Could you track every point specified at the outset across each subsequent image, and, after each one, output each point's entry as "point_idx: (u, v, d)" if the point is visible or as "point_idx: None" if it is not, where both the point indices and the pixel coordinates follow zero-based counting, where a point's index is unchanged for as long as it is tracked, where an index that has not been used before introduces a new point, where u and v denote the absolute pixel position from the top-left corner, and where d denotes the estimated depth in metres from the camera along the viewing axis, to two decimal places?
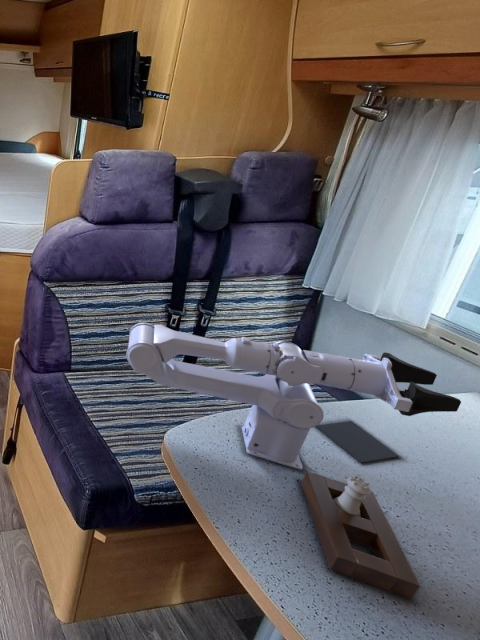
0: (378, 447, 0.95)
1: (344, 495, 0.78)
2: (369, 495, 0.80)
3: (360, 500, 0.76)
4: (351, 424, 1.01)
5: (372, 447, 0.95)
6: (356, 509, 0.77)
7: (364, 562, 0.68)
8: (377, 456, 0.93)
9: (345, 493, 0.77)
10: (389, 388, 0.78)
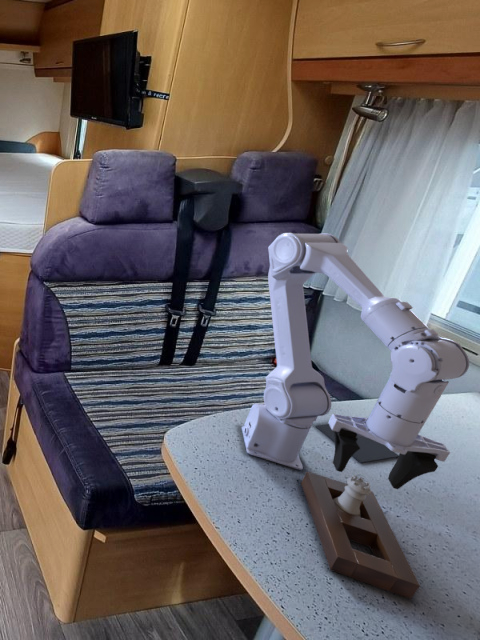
0: (378, 447, 0.95)
1: (344, 495, 0.78)
2: (369, 495, 0.80)
3: (360, 500, 0.76)
4: None
5: (372, 447, 0.95)
6: (356, 509, 0.77)
7: (364, 562, 0.68)
8: (377, 456, 0.93)
9: (345, 493, 0.77)
10: (364, 428, 0.73)
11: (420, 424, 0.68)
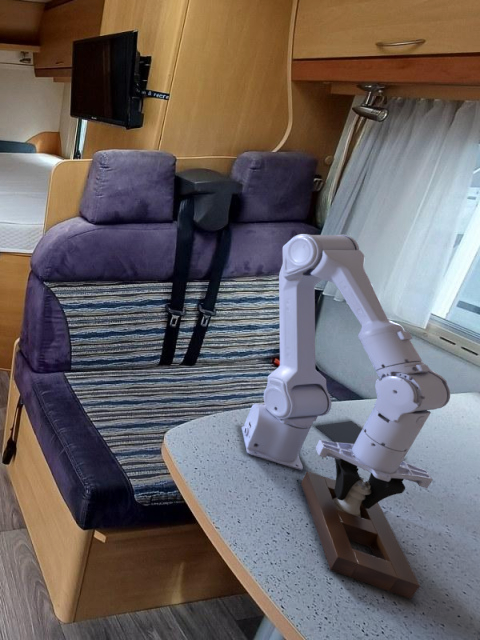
0: None
1: None
2: None
3: (360, 500, 0.76)
4: (351, 424, 1.01)
5: None
6: (356, 509, 0.77)
7: (364, 562, 0.68)
8: None
9: None
10: (350, 455, 0.75)
11: (403, 452, 0.70)
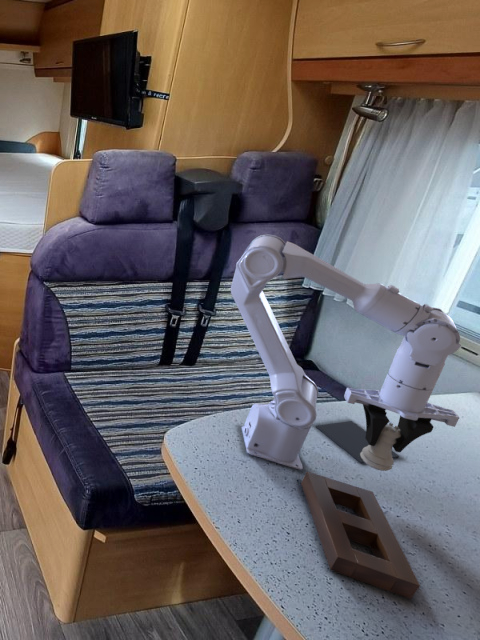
0: None
1: None
2: (369, 495, 0.80)
3: (391, 444, 0.79)
4: (351, 424, 1.01)
5: None
6: (388, 453, 0.80)
7: (364, 562, 0.68)
8: None
9: None
10: (377, 400, 0.79)
11: (428, 391, 0.74)
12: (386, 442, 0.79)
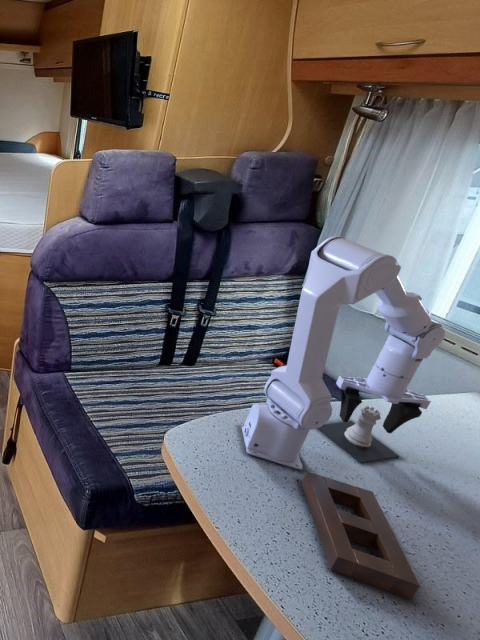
0: (378, 447, 0.95)
1: (359, 422, 0.95)
2: (369, 495, 0.80)
3: (372, 425, 0.93)
4: (351, 424, 1.01)
5: (372, 447, 0.95)
6: (368, 433, 0.94)
7: (364, 562, 0.68)
8: (377, 456, 0.93)
9: (359, 421, 0.95)
10: (364, 386, 0.92)
11: (408, 380, 0.87)
12: (368, 423, 0.93)
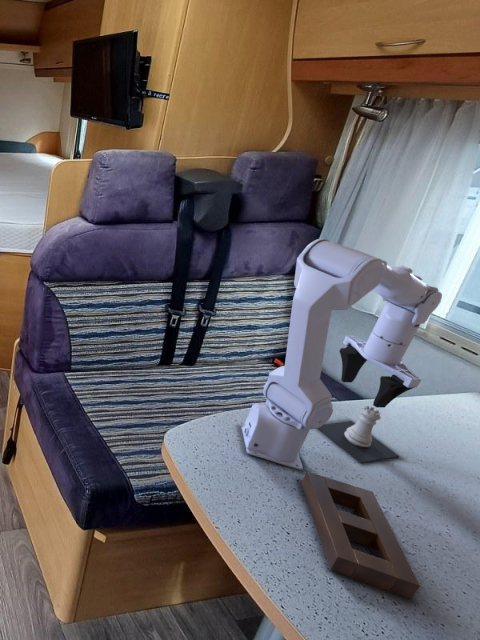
0: (378, 447, 0.95)
1: (359, 422, 0.95)
2: (369, 495, 0.80)
3: (372, 425, 0.93)
4: (351, 424, 1.01)
5: (372, 447, 0.95)
6: (368, 433, 0.94)
7: (364, 562, 0.68)
8: (377, 456, 0.93)
9: (359, 421, 0.95)
10: None
11: None
12: (368, 423, 0.93)
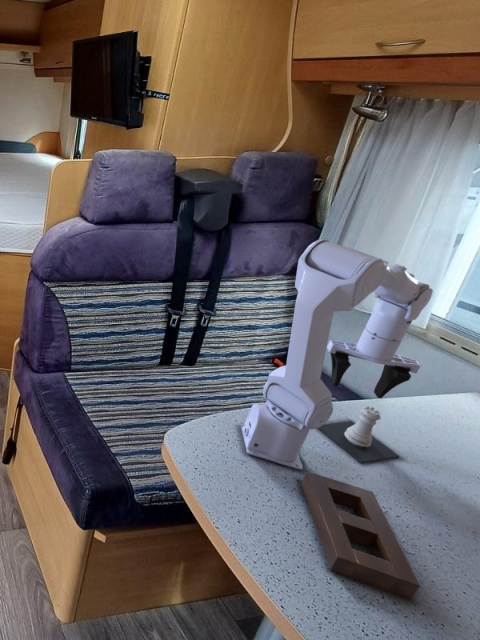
0: (378, 447, 0.95)
1: (359, 422, 0.95)
2: (369, 495, 0.80)
3: (372, 425, 0.93)
4: (351, 424, 1.01)
5: (372, 447, 0.95)
6: (368, 433, 0.94)
7: (364, 562, 0.68)
8: (377, 456, 0.93)
9: (359, 421, 0.95)
10: None
11: None
12: (368, 423, 0.93)
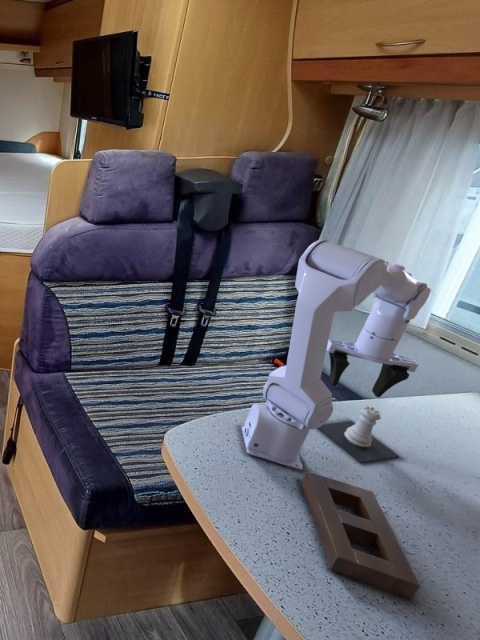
0: (378, 447, 0.95)
1: (359, 422, 0.95)
2: (369, 495, 0.80)
3: (372, 425, 0.93)
4: (351, 424, 1.01)
5: (372, 447, 0.95)
6: (368, 433, 0.94)
7: (364, 562, 0.68)
8: (377, 456, 0.93)
9: (359, 421, 0.95)
10: None
11: None
12: (368, 423, 0.93)
